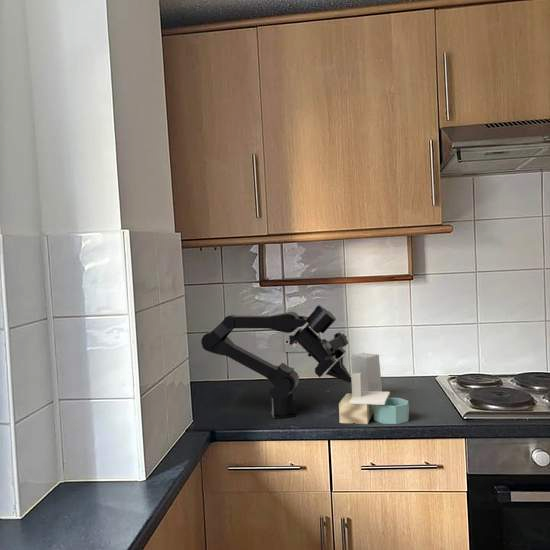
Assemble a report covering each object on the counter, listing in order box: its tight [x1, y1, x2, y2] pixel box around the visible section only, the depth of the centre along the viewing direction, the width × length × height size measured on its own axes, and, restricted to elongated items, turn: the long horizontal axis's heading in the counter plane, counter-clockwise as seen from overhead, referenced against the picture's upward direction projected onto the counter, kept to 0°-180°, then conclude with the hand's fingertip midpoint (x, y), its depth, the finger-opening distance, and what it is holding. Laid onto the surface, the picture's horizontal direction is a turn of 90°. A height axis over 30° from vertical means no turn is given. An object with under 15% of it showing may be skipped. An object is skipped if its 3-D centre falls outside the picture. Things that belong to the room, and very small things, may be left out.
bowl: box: [373, 397, 410, 425], centre depth 171 cm, size 10×10×5 cm
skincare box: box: [350, 352, 383, 392], centre depth 195 cm, size 8×6×15 cm
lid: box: [349, 372, 391, 405], centre depth 172 cm, size 10×12×7 cm
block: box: [338, 393, 374, 425], centre depth 174 cm, size 8×12×6 cm, turn 162°
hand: (351, 381), depth 174 cm, fingers closed, pressing on lid
